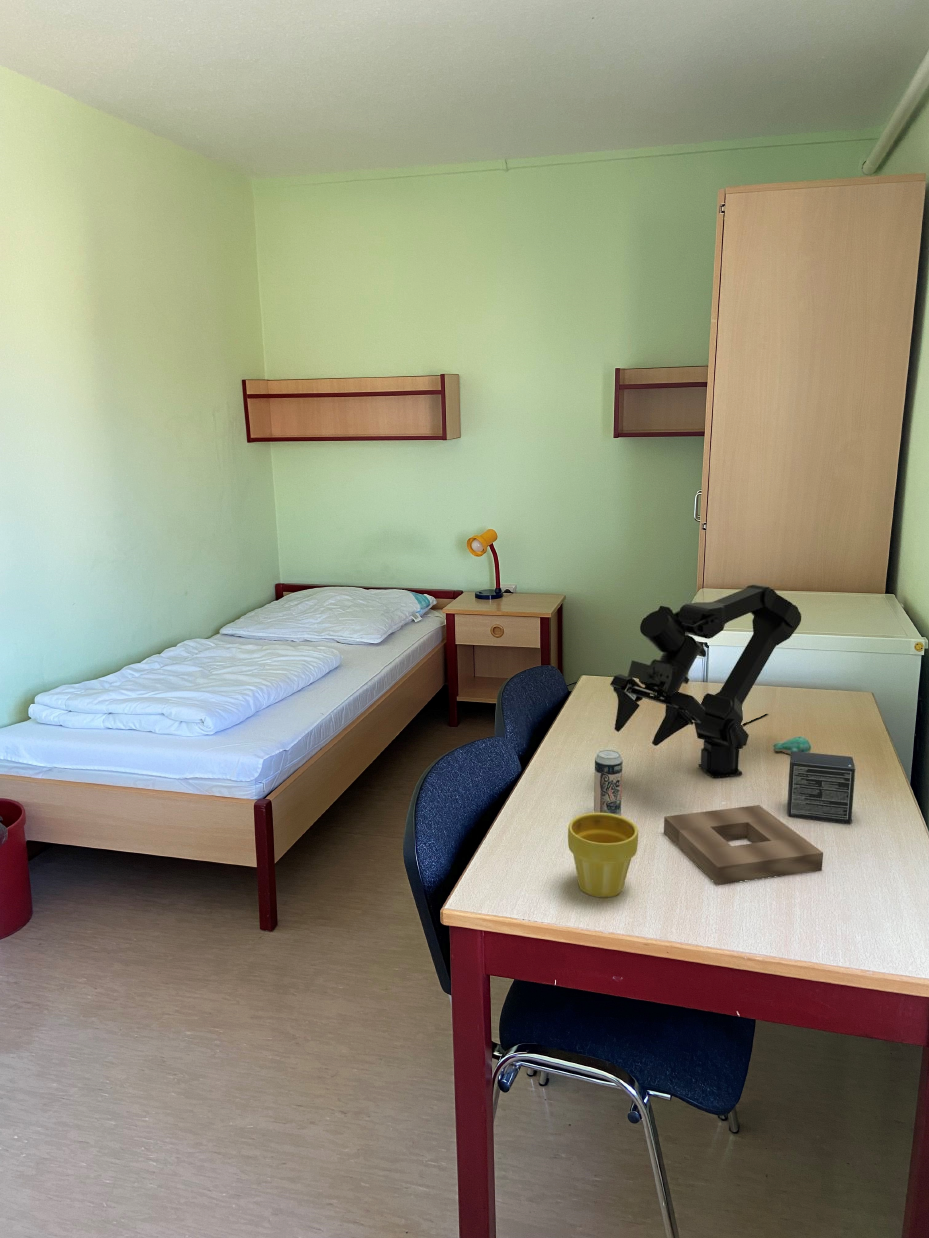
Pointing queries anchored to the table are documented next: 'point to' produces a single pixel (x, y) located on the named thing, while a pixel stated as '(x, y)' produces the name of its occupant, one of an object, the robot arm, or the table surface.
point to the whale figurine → (794, 745)
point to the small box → (821, 787)
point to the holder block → (763, 858)
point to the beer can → (608, 782)
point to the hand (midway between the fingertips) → (634, 737)
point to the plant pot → (602, 851)
